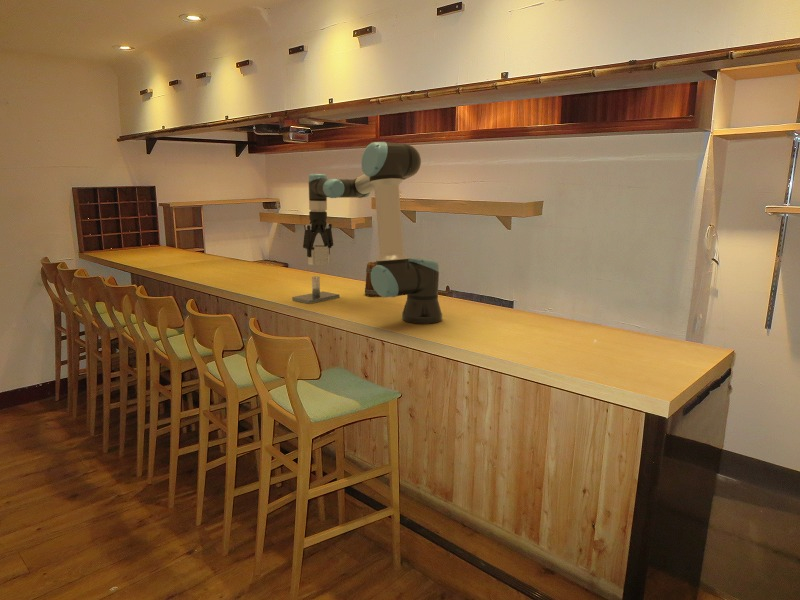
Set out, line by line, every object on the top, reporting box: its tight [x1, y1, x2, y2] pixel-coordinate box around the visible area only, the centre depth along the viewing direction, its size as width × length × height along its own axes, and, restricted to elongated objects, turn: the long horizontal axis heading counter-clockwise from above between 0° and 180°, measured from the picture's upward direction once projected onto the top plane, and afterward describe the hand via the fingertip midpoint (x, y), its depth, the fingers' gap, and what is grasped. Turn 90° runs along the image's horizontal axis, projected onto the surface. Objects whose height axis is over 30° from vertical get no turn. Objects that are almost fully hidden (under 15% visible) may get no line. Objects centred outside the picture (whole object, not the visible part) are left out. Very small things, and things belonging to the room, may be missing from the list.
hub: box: [312, 244, 329, 267], centre depth 232 cm, size 8×8×8 cm
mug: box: [364, 261, 382, 298], centre depth 245 cm, size 16×11×15 cm
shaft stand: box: [291, 275, 341, 305], centre depth 236 cm, size 11×18×10 cm, turn 141°
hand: (318, 263), depth 233 cm, fingers closed on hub, 8 cm apart
